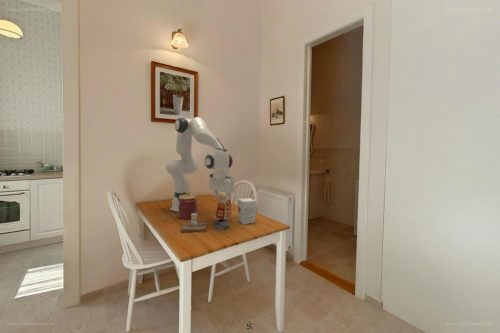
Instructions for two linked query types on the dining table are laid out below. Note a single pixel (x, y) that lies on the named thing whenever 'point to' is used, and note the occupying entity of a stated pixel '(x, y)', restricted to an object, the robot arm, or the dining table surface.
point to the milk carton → (223, 207)
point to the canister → (187, 206)
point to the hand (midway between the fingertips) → (221, 198)
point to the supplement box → (246, 210)
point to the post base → (193, 229)
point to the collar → (221, 224)
